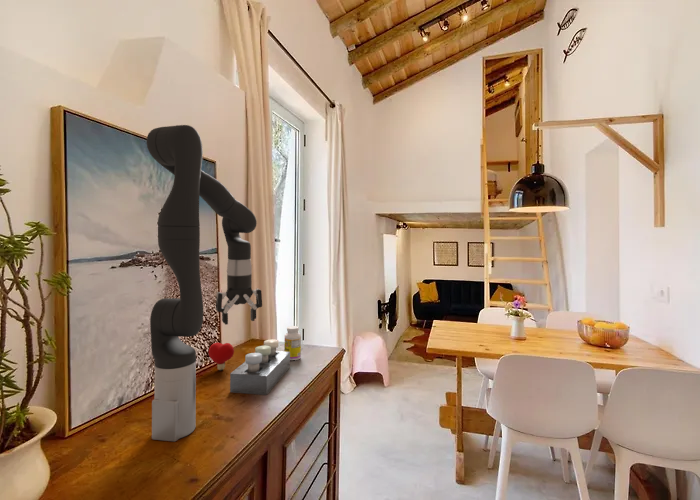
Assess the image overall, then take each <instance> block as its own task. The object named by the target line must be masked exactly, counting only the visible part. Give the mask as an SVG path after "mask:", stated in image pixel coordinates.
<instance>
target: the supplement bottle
mask: <svg viewBox="0 0 700 500" xmlns="http://www.w3.org/2000/svg"><path fill="white" fill-rule="evenodd" d="M299 330H300V328H299V326H297V325H290V326H287V327H286V331H287V333H285V334H284V351H285V352H290V360H295V361H298V360H300V359H301V357H302V356H301V355H302V353H301V352H302V336H301V333H300V332H299Z"/></svg>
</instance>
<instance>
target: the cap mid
mask: <svg viewBox="0 0 700 500" xmlns="http://www.w3.org/2000/svg"><path fill="white" fill-rule="evenodd" d="M254 349H255V351H254V353H261V354H262V362H261V363H259V364H266V363H268V355H270V354H271V347H270V346H264V345H259V346H256V347H255V348H254Z"/></svg>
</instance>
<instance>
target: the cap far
mask: <svg viewBox="0 0 700 500" xmlns="http://www.w3.org/2000/svg"><path fill="white" fill-rule="evenodd" d="M263 346H270V347H271V354H270V355H268V356H275V355H276V351H277V348H279V340H277V339H275V338H274V339H266V340H264V341H263Z"/></svg>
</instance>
